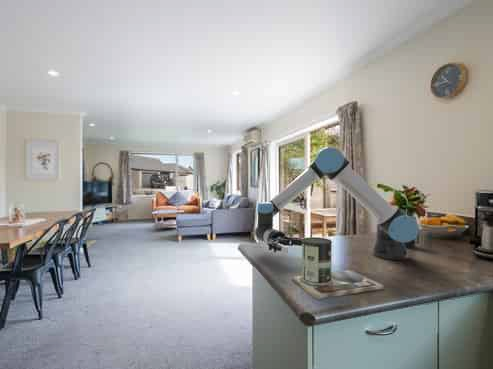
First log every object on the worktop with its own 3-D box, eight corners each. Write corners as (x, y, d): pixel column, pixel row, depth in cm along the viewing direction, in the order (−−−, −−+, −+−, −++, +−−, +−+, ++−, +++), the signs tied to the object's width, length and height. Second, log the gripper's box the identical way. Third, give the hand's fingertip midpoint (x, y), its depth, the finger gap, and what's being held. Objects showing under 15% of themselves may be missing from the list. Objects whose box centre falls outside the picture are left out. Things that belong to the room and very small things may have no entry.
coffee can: (329, 275, 96) (330, 237, 96) (333, 286, 86) (333, 244, 86) (301, 273, 98) (301, 236, 98) (301, 284, 88) (301, 242, 88)
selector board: (350, 272, 104) (350, 269, 104) (382, 288, 88) (382, 284, 88) (291, 280, 95) (291, 276, 95) (316, 299, 80) (317, 294, 80)
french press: (392, 245, 150) (392, 205, 150) (400, 243, 155) (400, 204, 155) (414, 249, 140) (414, 207, 140) (422, 247, 145) (422, 206, 145)
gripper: (297, 243, 124) (327, 255, 105) (249, 248, 115) (273, 262, 95) (297, 228, 124) (328, 237, 105) (250, 231, 115) (273, 242, 95)
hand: (302, 249), depth 100 cm, fingers open, 13 cm apart
